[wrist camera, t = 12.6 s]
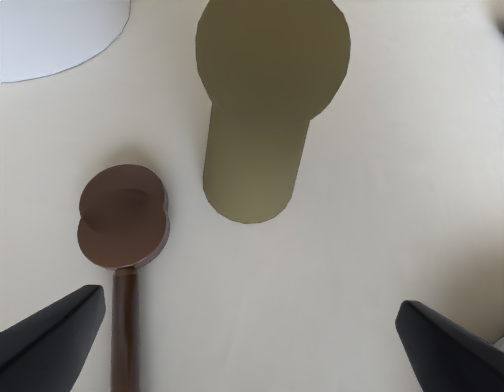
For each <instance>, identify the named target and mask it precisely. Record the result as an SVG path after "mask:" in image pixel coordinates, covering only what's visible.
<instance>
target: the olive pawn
mask: <svg viewBox="0 0 504 392" xmlns="http://www.w3.org/2000/svg"><path fill="white" fill-rule="evenodd" d="M195 40H196V61H197V69H198V73H199V76H200V78H201V80H202V83H203V85H204V87H205V89H206V91H207V94H208V96H209V98H210V100H211V101H212V108H211V116H210V124H209V132H208V140H207V148H206V156H205V164H204V171H203V190H204V192H205V195H206V197H207V200H208V202H209V203H210V204H211V205H212V206H213V208H214V209H215V210H216V211H217V212H218V213H220V214H221V215H223V216H225V217H226V218H228V219H230V220H232V221H236V222H241V223H245V224H249V223H261V222H264V221H266V220H269V219H272V218H274V217H275V216H277V215H278V214H279V213H280V212H281V211H283V210H284V209H285V207H286V206H287V204H288V202H289V200H290V199H291V197H292V192H293V188H294V184H295V180H296V176H297V172H298V168H299V164H300V160H301V156H302V151H303V147H304V143H305V139H306V135H307V131H308V127H309V123H310V120H311V119H313V118H314V117H315V116H317V115H318V114H320V113H321V112H322V111H323V110H324V109H325V108H326V107H327V106H328V105H329V104H330V102H331V101H332V99H333V97H334V96H335V94H336V92H337V91H338V89H339V87H340V85H341V84H342V82H343V80H344V78H345V76H346V73H347V68H348V64H349V59H350V46H351V41H350V34H349V27H348V25H347V22H346V20H345V17H344V14H343V13H342V12H341V11H340V9H339V8H338V7H337V6H336V5H335V4H334V2H333V1H332V0H210V1H209V2H208V4H207V6H206V8H205V10H204V12H203V14H202V16H201V18H200V20H199V22H198V26H197V33H196V39H195Z"/></svg>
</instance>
